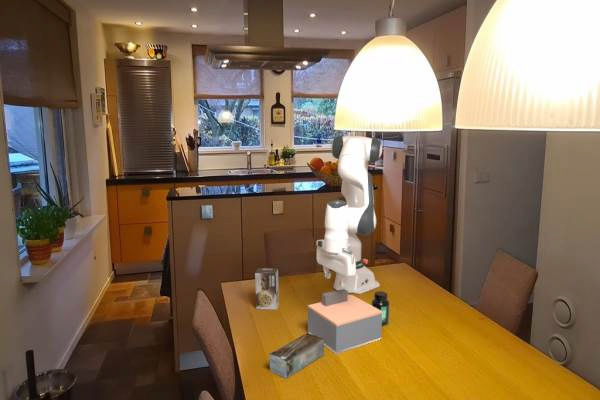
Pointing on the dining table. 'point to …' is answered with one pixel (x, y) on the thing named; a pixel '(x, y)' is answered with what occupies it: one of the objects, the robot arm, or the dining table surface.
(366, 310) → the cover
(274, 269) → the coffee box
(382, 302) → the supplement bottle
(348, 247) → the robot arm
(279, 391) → the dining table surface
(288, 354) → the beverage carton
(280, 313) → the dining table surface
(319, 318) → the storage box
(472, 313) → the dining table surface
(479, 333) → the dining table surface
